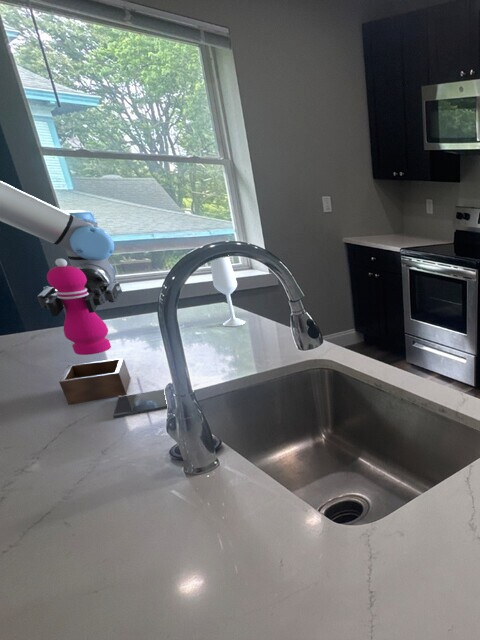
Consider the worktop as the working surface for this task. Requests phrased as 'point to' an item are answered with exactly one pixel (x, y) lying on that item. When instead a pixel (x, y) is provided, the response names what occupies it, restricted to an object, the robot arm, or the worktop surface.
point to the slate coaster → (140, 403)
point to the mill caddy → (95, 380)
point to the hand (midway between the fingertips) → (71, 307)
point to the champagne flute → (225, 285)
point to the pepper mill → (78, 310)
